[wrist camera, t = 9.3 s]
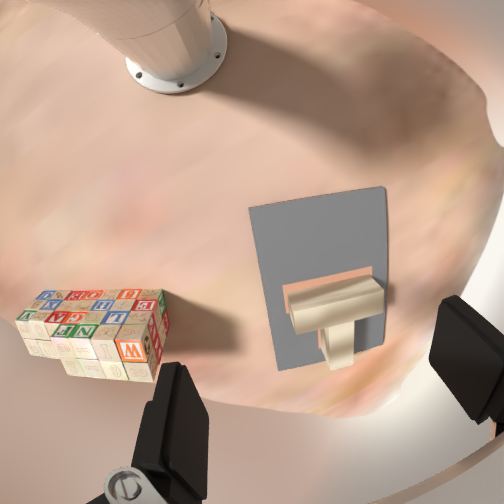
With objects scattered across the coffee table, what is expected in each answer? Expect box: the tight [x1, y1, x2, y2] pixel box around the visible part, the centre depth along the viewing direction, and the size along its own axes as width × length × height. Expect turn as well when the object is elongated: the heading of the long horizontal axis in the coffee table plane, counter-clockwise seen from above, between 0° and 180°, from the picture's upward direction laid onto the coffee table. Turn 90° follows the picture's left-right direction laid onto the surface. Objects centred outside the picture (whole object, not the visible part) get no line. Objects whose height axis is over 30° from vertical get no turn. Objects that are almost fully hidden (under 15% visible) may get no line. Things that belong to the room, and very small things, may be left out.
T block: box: [286, 274, 384, 371], centre depth 38 cm, size 12×12×5 cm
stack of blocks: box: [15, 289, 169, 382], centre depth 33 cm, size 21×6×12 cm, turn 92°
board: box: [249, 186, 387, 371], centre depth 40 cm, size 26×18×1 cm
